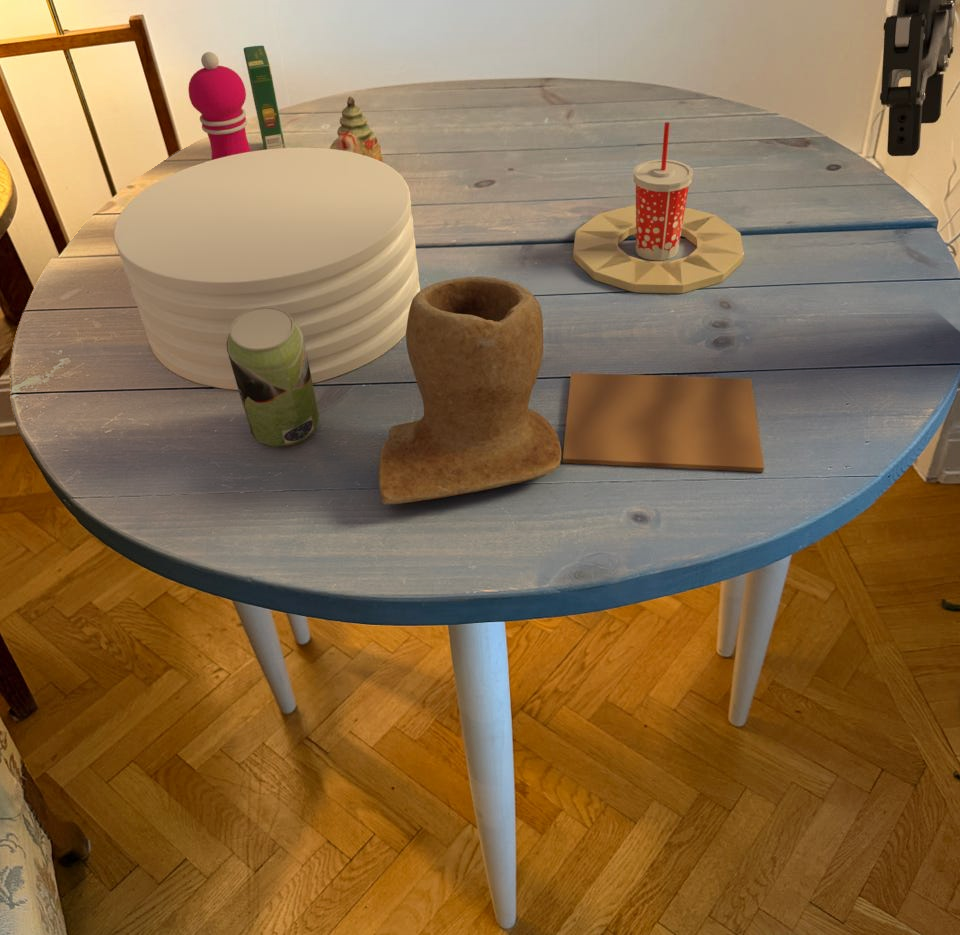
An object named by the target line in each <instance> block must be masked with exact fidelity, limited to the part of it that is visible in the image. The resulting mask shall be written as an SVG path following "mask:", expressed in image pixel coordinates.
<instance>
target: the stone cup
mask: <svg viewBox="0 0 960 935" xmlns="http://www.w3.org/2000/svg"><path fill="white" fill-rule="evenodd" d="M543 320H544V319H543V311H542V308H541V303H540V302H539V301H538V299H537V298H536V297H535V295H534V293H532V292H531V291H530V290H528V288H526V287H524V286H522V285H520V284H519V283H516V282H513V281H510V280H506V279H500V278H496V277H487V276H465V277H458V278H452V279H446V280H443V281H440V282H436V283H432V284H430V285H428V286H426V287H424V288H422V289H420V292H418V293H417V294H416V296H415V297H414V298H413V300H412V302H411V306H410V310H409V314H408V321H407V328H406V335H405V342H406V343H405V344H406V349H407V355H408V358H409V362H410V365H411V368H412V371H413V375H414V378H415V381H416V385H417V387H418V390H419V394H420V396H421V400H422V404H423V416H422V417H421V419H418V420H414V421H411V422H405V423H400V424H396V425H393V426H391V427H390V428H389V429H388V435H387V437H388V438H387V440H386V441H385V442H384V443H383V446H382V448H380V452H379V463H378V465H379V466H378V490H379V493H380V496H381V502H382V504H383V505H398V504H406V503H407V504H408V503H415V502H420V501H428V500H434V499H440V498H448V497H453V496H458V495H464V494H465V495H466V494H471V493H476V492H481V491H486V490H492V489H497V488H502V487H505V486H509V485H514V484H518V483H523V482H527V481H531V480H535V479H538V478H541V477H545V476H546V475H549V474H551V473H553V472H554V471H556V470H557V469H558V468H559V466H560V465H561V461H562V448H561V444H560V443H561V442H560V440H559V436H558V434H557V432H556V430H555V429H554V427H553V425H552V424H551V423H550V422H549V420H547V419H546V418H545V417H544V416H543V415H541V414H540V413H539V412H537V411H535V410H534V409H531V408H529V404H530V399H531V395H532V392H533V389H534V387H535V384H536V382H537V379H538V376H539V373H540V369H541V366H542V361H543V355H544V321H543Z"/></svg>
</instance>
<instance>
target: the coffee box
mask: <svg viewBox="0 0 960 935" xmlns="http://www.w3.org/2000/svg"><path fill="white" fill-rule="evenodd" d="M242 50H243V54H244V59H245V63H246V68H247V73H248V78H249V83H250V87H251V94H252V98H253V102H254V103H253V104H254V106H255V107H254V108H255V111H256V117H257V122H258V126H259V132H260V136H261V141H262V145H263V150H267V149H278V148H286V144H285V138H284V134H283V128H282V123H281V118H280V113H279V108H278V107H279V106H278V101H277V96H276V92H275V86H274V80H273V75H272V69H271V64H270V61H269V57H268V54H267V50H266V48H265V46H264V45H253V46H246V47H243V49H242Z"/></svg>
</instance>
